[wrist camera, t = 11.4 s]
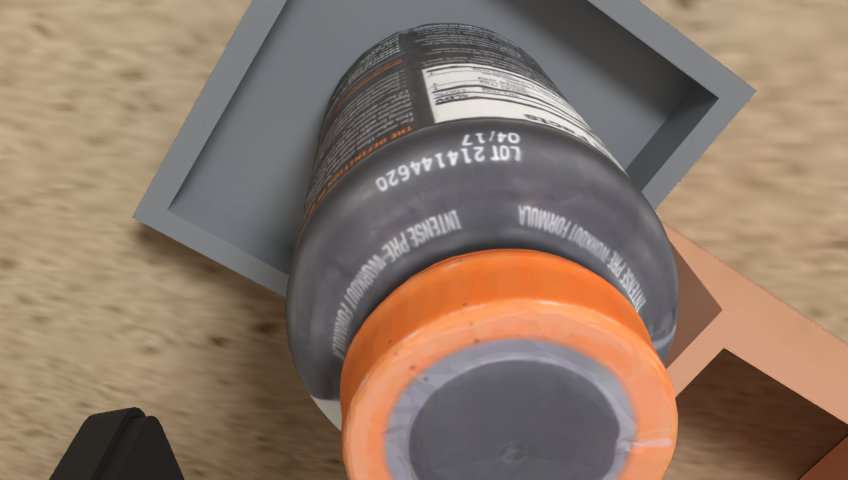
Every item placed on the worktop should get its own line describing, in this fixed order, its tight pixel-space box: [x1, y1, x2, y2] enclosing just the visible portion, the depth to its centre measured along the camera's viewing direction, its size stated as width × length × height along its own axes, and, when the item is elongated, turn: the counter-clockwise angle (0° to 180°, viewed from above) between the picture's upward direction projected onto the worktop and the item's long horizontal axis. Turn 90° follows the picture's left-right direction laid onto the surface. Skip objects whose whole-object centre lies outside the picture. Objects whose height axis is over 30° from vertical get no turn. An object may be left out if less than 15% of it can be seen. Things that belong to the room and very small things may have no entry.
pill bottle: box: [285, 23, 679, 480], centre depth 14 cm, size 6×6×11 cm
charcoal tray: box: [132, 0, 757, 298], centre depth 18 cm, size 10×10×2 cm
